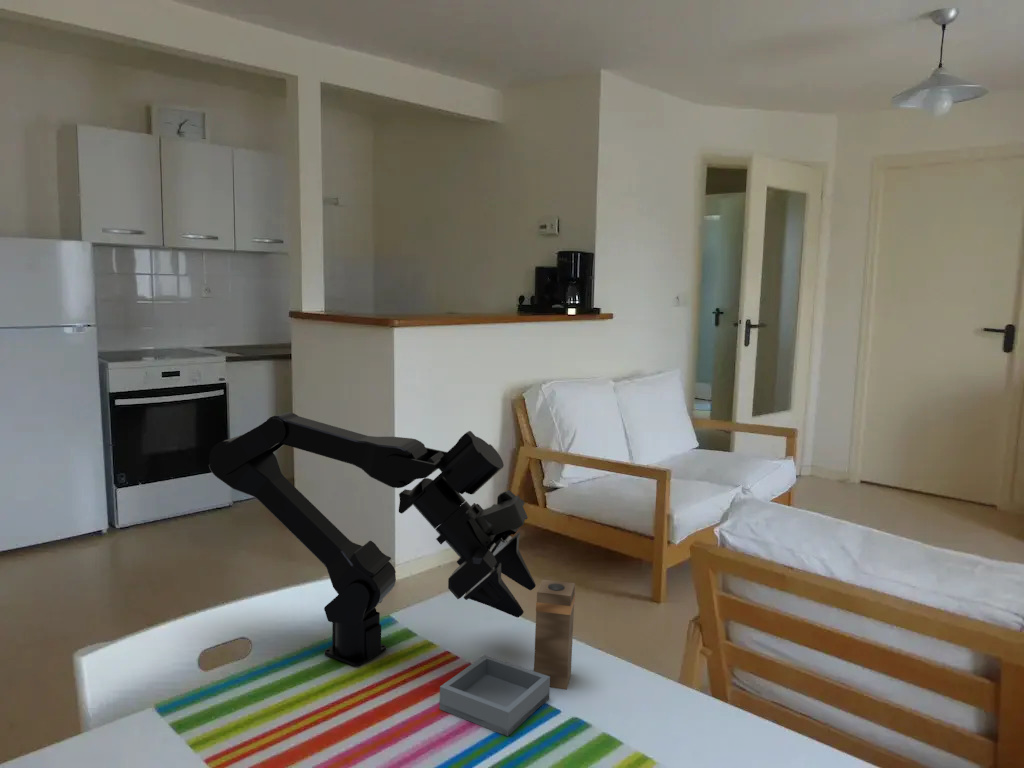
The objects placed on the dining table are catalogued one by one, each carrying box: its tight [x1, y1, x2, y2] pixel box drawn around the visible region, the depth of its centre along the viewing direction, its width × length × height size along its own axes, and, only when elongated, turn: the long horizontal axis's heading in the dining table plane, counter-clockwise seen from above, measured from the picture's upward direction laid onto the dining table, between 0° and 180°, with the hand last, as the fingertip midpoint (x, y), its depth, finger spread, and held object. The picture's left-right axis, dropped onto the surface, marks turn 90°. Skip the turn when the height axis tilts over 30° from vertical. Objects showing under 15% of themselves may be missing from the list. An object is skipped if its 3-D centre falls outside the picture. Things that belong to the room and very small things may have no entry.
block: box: [533, 579, 576, 690], centre depth 101 cm, size 5×5×13 cm
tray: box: [439, 654, 551, 737], centre depth 95 cm, size 10×10×3 cm
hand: (527, 601), depth 101 cm, fingers open, 9 cm apart
